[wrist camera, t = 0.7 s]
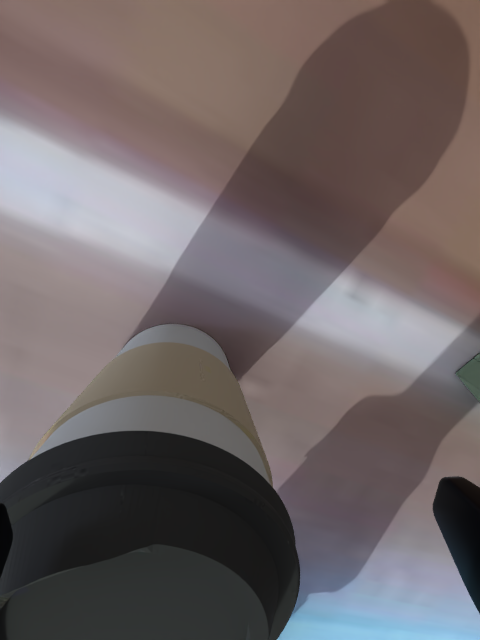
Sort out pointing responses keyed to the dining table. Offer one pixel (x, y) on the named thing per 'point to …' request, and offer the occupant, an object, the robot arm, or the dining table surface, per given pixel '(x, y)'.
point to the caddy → (471, 376)
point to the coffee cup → (150, 509)
